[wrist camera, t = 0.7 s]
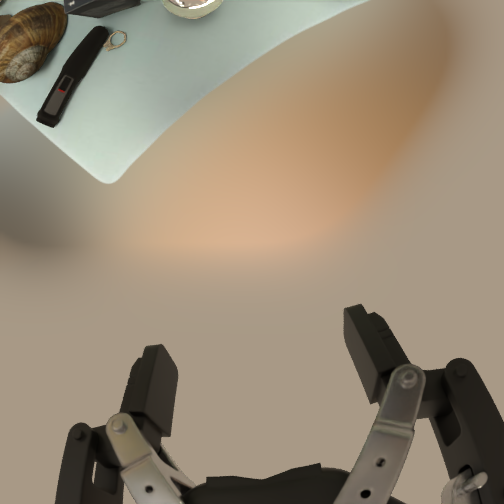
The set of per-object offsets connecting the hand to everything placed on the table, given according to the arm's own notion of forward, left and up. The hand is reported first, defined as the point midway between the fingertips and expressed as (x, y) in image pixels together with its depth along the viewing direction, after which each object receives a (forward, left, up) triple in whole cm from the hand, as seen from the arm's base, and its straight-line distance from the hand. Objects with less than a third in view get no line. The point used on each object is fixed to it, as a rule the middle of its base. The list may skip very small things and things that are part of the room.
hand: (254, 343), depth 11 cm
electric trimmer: (-20, +3, -31) cm, 37 cm away
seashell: (-28, -3, -31) cm, 42 cm away
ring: (-17, +2, -31) cm, 35 cm away
